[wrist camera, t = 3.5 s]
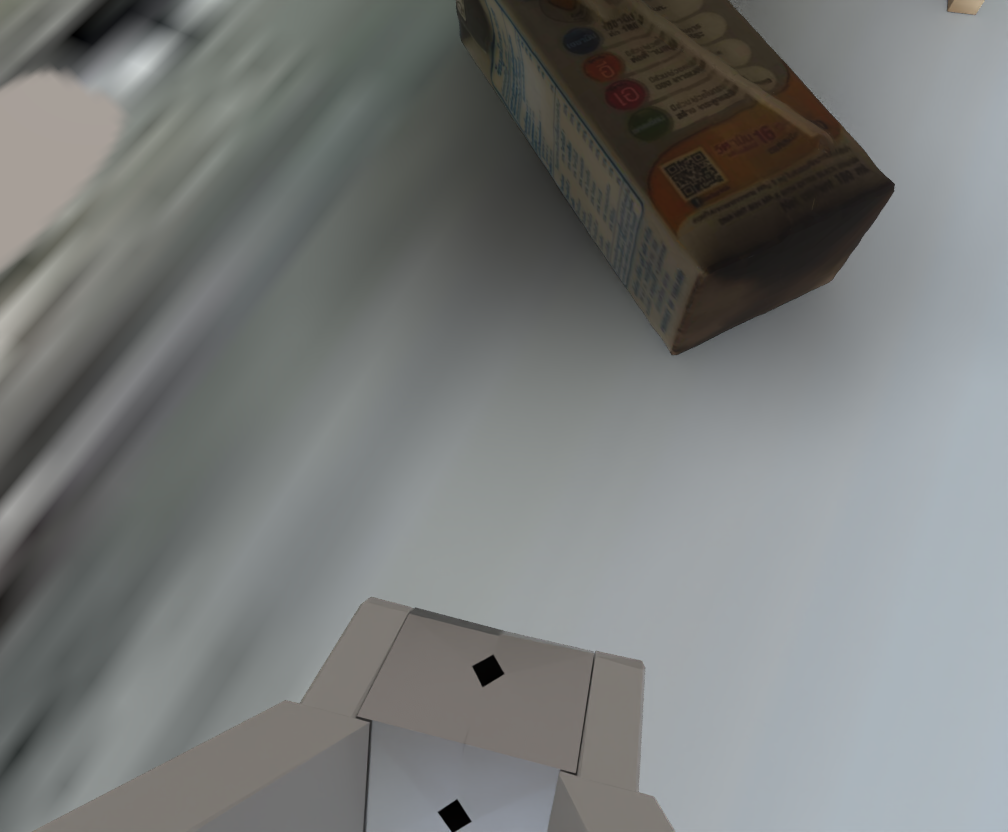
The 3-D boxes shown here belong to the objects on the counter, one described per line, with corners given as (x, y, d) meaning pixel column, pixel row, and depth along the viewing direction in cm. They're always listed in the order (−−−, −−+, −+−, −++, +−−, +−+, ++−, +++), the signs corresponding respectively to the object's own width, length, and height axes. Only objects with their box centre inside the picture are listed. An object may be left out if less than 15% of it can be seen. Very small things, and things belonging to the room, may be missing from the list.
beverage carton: (603, -22, 36) (614, -168, 30) (846, 284, 30) (922, 179, 24) (456, 44, 36) (436, -93, 29) (673, 373, 29) (706, 288, 23)
